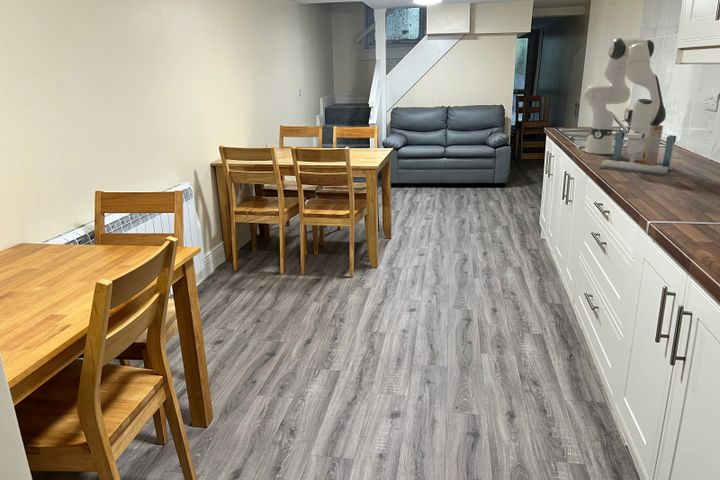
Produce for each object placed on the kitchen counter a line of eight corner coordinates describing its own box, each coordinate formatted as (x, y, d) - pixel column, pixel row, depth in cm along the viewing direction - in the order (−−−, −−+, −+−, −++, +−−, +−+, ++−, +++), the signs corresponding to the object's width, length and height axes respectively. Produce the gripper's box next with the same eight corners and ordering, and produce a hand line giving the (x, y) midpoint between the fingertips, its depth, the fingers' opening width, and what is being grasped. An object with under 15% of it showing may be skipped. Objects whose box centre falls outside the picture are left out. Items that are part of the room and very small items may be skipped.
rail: (603, 165, 284) (604, 159, 283) (667, 172, 266) (668, 166, 265) (601, 166, 282) (602, 160, 281) (666, 173, 264) (667, 167, 263)
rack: (611, 162, 295) (616, 130, 289) (673, 169, 277) (680, 135, 271) (607, 164, 289) (612, 132, 284) (670, 172, 271) (676, 137, 265)
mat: (605, 165, 287) (605, 164, 287) (668, 173, 269) (669, 171, 269) (599, 168, 280) (599, 167, 279) (664, 176, 261) (664, 175, 261)
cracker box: (656, 165, 287) (664, 125, 280) (645, 165, 287) (652, 125, 280) (644, 160, 300) (650, 122, 294) (633, 160, 300) (639, 122, 294)
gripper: (638, 130, 278) (633, 157, 282) (626, 135, 263) (622, 163, 268) (651, 131, 274) (646, 159, 279) (640, 136, 259) (635, 165, 264)
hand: (634, 161), depth 273 cm, fingers open, 8 cm apart
